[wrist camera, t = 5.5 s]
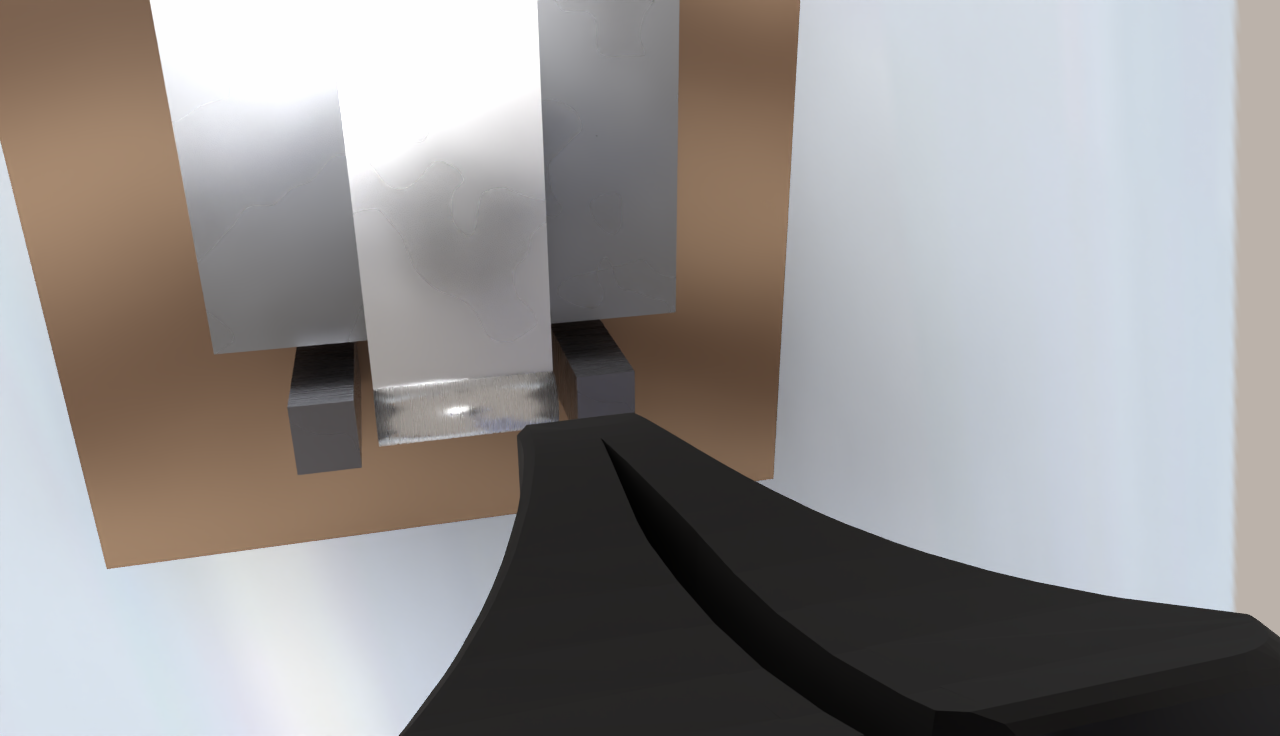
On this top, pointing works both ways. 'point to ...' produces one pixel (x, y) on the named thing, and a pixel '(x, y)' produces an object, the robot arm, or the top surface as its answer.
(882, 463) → the top surface
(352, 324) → the clamp block
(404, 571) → the top surface
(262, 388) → the board
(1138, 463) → the top surface
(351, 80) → the grey flat bar
